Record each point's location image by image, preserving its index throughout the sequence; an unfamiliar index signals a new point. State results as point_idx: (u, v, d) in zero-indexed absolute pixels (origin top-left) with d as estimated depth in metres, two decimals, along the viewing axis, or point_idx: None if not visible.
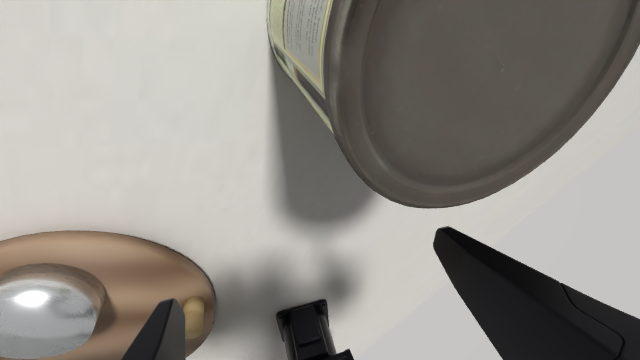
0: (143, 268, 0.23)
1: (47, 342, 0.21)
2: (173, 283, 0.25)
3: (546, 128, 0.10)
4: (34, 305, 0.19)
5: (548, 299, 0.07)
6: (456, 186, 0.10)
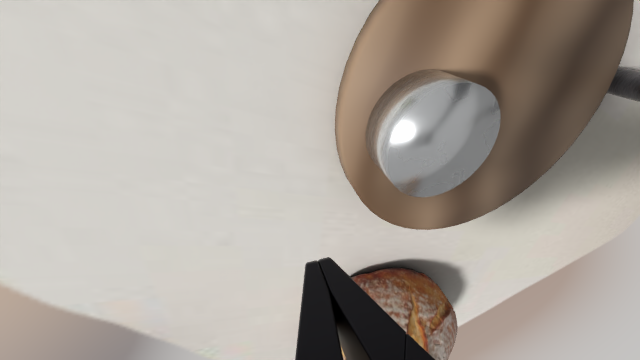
0: (425, 2, 0.14)
1: (470, 140, 0.16)
2: None
3: None
4: (408, 128, 0.15)
5: (382, 356, 0.06)
6: None
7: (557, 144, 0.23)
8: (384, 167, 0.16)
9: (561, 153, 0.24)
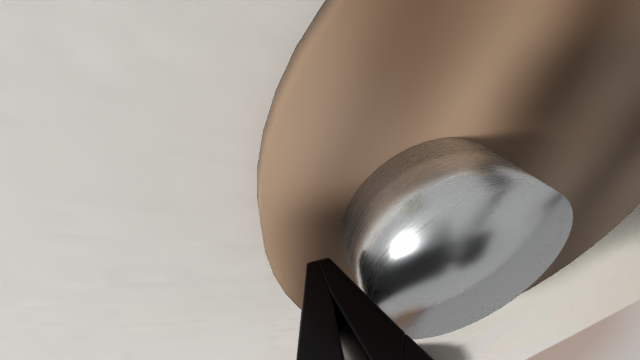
0: (395, 28, 0.07)
1: (516, 262, 0.09)
2: None
3: None
4: (410, 263, 0.08)
5: (381, 356, 0.06)
6: None
7: (606, 219, 0.16)
8: None
9: (610, 228, 0.17)
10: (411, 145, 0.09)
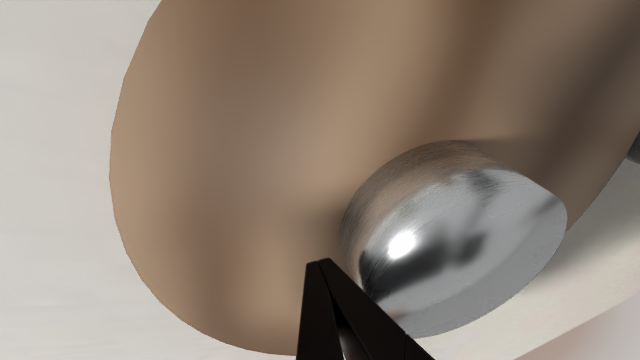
0: (228, 44, 0.07)
1: (512, 263, 0.10)
2: None
3: None
4: (409, 263, 0.08)
5: (381, 356, 0.06)
6: None
7: None
8: None
9: None
10: (286, 167, 0.09)
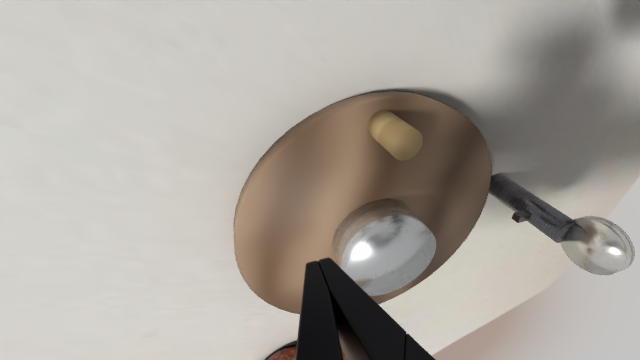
0: (289, 173, 0.17)
1: (413, 257, 0.20)
2: (330, 145, 0.17)
3: None
4: (362, 256, 0.19)
5: (382, 356, 0.06)
6: None
7: (450, 242, 0.26)
8: None
9: (456, 247, 0.27)
10: (308, 214, 0.19)
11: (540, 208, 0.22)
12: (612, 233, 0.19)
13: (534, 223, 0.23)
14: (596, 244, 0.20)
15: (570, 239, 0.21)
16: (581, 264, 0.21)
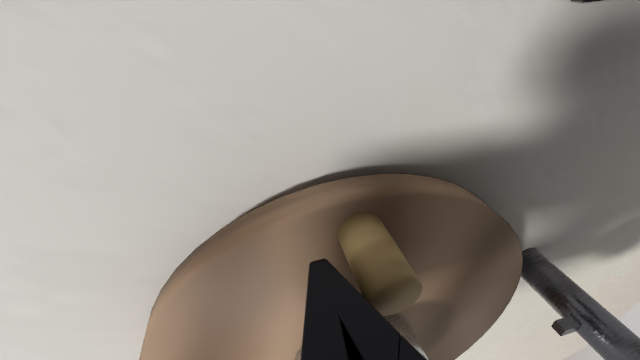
0: (214, 301, 0.11)
1: None
2: (277, 262, 0.11)
3: None
4: None
5: (376, 358, 0.06)
6: None
7: (459, 343, 0.20)
8: None
9: (467, 346, 0.20)
10: (252, 340, 0.13)
11: (595, 319, 0.15)
12: None
13: (585, 338, 0.16)
14: None
15: None
16: None
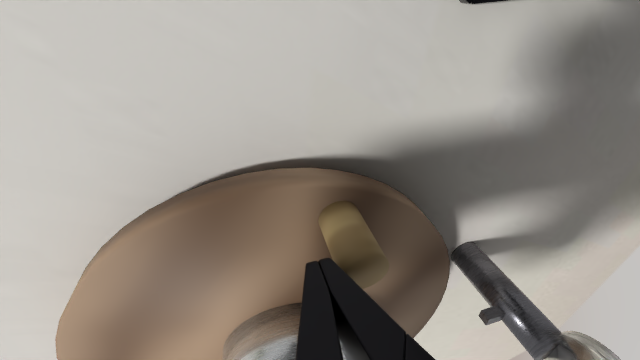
0: (183, 248, 0.11)
1: None
2: (259, 226, 0.11)
3: None
4: None
5: (382, 356, 0.06)
6: None
7: None
8: None
9: None
10: (198, 305, 0.13)
11: (516, 308, 0.16)
12: None
13: (508, 327, 0.16)
14: None
15: (556, 359, 0.15)
16: None
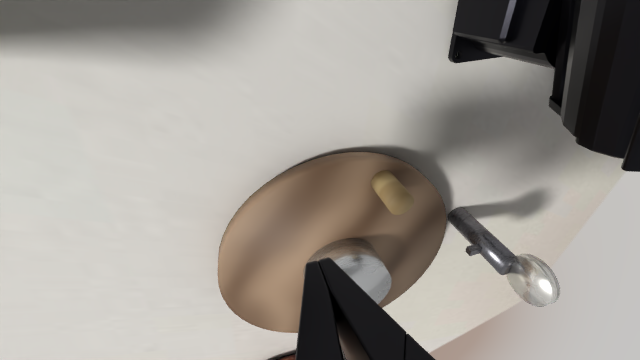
0: (299, 195, 0.20)
1: (369, 294, 0.24)
2: (340, 183, 0.20)
3: None
4: None
5: (382, 356, 0.06)
6: None
7: (394, 290, 0.30)
8: None
9: (397, 296, 0.31)
10: (298, 233, 0.22)
11: (489, 243, 0.25)
12: (541, 272, 0.22)
13: (484, 256, 0.26)
14: (531, 279, 0.23)
15: (513, 272, 0.24)
16: (521, 295, 0.24)
